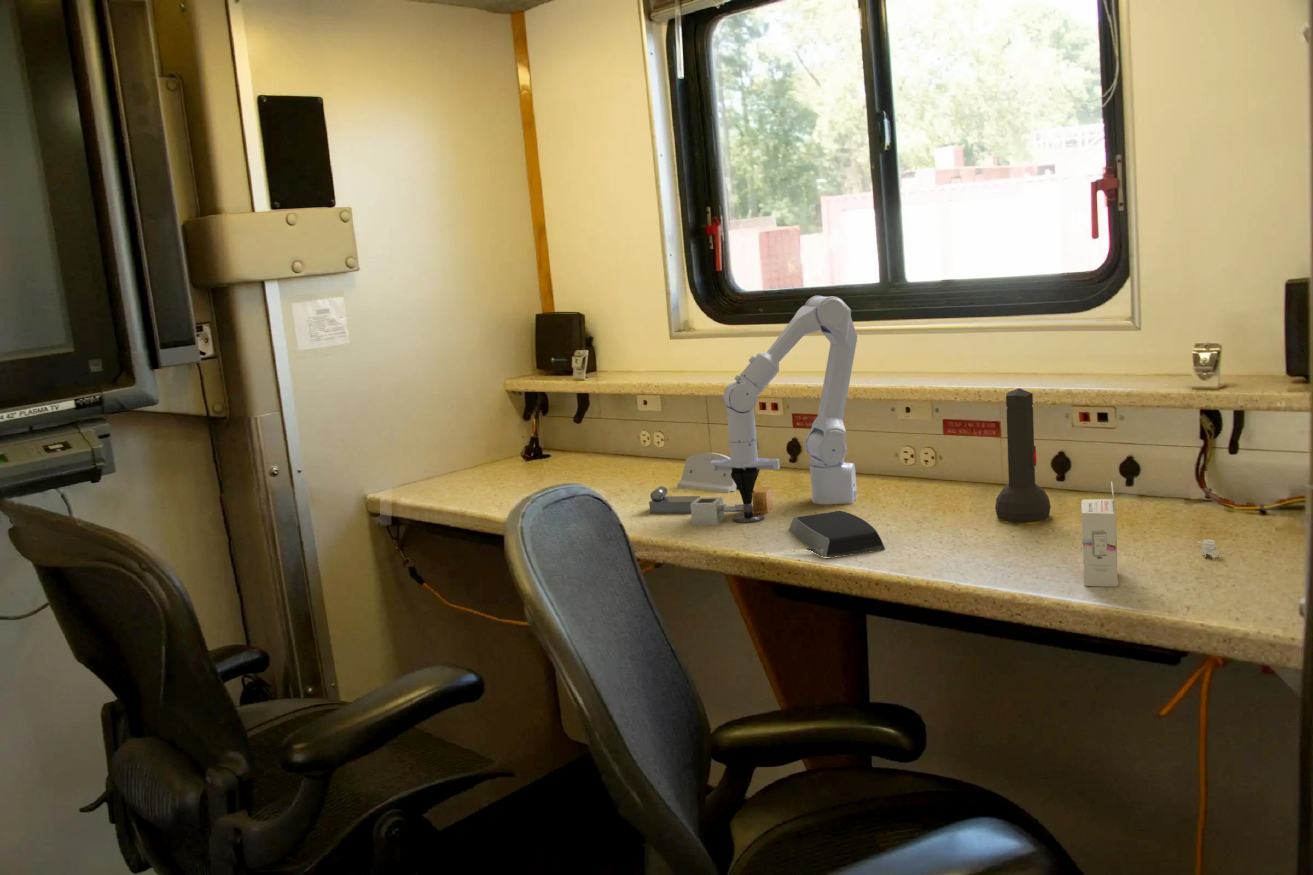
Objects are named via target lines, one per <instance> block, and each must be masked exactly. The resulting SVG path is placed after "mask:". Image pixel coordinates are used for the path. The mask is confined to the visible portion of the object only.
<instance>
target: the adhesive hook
mask: <svg viewBox="0 0 1313 875" xmlns="http://www.w3.org/2000/svg"><path fill="white" fill-rule="evenodd" d="M1197 544H1200V545H1202V546H1201V549H1202V550H1200V551H1199V553H1200V554H1201V555H1202V554H1205V556H1204V557H1206V558H1207V555H1206V554H1209V555H1211V558H1214V559H1215V557H1214V555H1215V556H1218V555H1219V556H1220V551H1217V544H1216V540H1213V539H1203V541H1197Z"/></svg>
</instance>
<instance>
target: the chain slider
mask: <svg viewBox="0 0 1313 875" xmlns="http://www.w3.org/2000/svg"><path fill="white" fill-rule="evenodd" d="M772 491H773V490H772V486H757V487H756V488H754V489H753V492H752V510H753V513H760V514H768V513H769V512H770V511H771V509H772V508H773V506H774V505H773V492H772ZM723 504H724V512H729V511H730V512H735V511H744V509H743V503H736V504H734V505H727V503H726V504H725V503H723Z"/></svg>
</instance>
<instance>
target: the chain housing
mask: <svg viewBox="0 0 1313 875" xmlns="http://www.w3.org/2000/svg"><path fill="white" fill-rule="evenodd" d="M667 495H668V489H667V487H665V486H663V485H660V486H659V487H656V489H654V490H653V491H652V492H651V493H650V495H649V496H650V501H649V502H648V504H649V513H650V515H651V514H659V515H660V514H661V515H664V514H665V515H666V514H671V515H673V514H675V515H676V514H677V515H678V514H679V515H680V514H683V515H685V514H689V515H690V514H691V505H690V504H691V503H692V502H693V501H695V500H696V499H697V498H701V496H700V495H694V496H693V495H687V496H686V495H685V496H684V495H683V496H681V495H680V496H679V495H677V496H675V495H674V496H667Z"/></svg>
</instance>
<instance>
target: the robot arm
mask: <svg viewBox="0 0 1313 875" xmlns="http://www.w3.org/2000/svg"><path fill="white" fill-rule="evenodd" d="M851 315H852V309H851V308H850V307H849V306H848V305H847V304H846V303H845V301H843V299H842V298H840V297H838V296H823V295H814V296H812V297H810V298H809V299H808V300H807V301H806V302H805V304H804V305H802V306H801V307H800V308H799V309H798V310H797V311H796V313H795V314H794V316H793V317H792V319H791V320H790V321H789V322H788V324H787V325H786V327H785V328H784V329H783V331H781V333H780V334H779V335H778V337H777V338H776V339H775V340H774V342H773V343H772V344H771V346H770V347H769V348H768V350H767V351H766V352H759V353H757V354H756V355H755V356H753V355H751V357H750V358H749V359H748V362H749V363H748V365H747V366H746V367H745V369H743V370H742V371H741V373H740V374H739V375H735V377H734V380H735V381H734V382H731V383H729V384H728V385H727V386H725V388H724V390H723V394H722V396H721V400H722V402H723V404H724V405H725V406H726V414H727V421H726V422H727V432H728V442H729V443H728V445H729V457H730V459H726V460H712V461H711V462H710V470H711V471H716V470H732V473H731V477H732V479H733V480H734V482H735V484H736V485H737V487H738V489H739V490H738V492H739V494H740V497H741V500H742V504H745V503H752V504H753V500H752V492H753V491H754V490H755V485H756V482H757V479H758V476H759V473H760V472H761V471H760V470H773V471H778V470H780V468H781V466H780V465H781V462H780V459H779V458H764V457H763V458H762V457H758V456H759V455H758V453H759V452H758V442H757V428H756V417H755V409H754V408H755V407H756V406H757V403H758V400H759V398H758V396H759V395H760V394H762V392H763V391H764V389H765V388H767V386H768V385H769V384H770V383H771V381H773V379H774V378H775V377H776V376H777V374H779V372H780V362H781V360H783V358H784V357H785V356H787V354H788V353H789V352H790V351H791V350H792V349H793V348H794V347H795V346H796V344H798V343H799V341H800V340H801V339H802V338H804V336H806V335H807V334H812V333H815V332H818V331H821V333H822V334H823V336H824V337H825V338H826V339H827V340H828V342H829V343H830V345H829V350H828V356H827V362H826V367H825V373H824V374H825V375H824V379H823V384H822V389H821V390H822V391H821V395H820V401H819V407H818V414H817V416H816V418H814V421H813V422H812V424H811V430H809V433H808V434H807V436H806V437H805V441H804V448H805V451H806V453H807V454H808V455H809V456H810V459H809V474H810V476H809V477H810V489H811V490H810V491H811V501H812V503H813V504H816V505H817V504H818V505H835V504H836V505H839V504H840V505H841V504H842V505H843V504H854V503H855V500H856V499H857V497H858V491H857V476H856V475H857V474H856V473H857V472H856V468H855V467H856V466H855V463H854V462H845V458H846V456H847V453H848V445H847V442H846V435H847V430H846V427H845V424H844V421H843V420H844V414H845V410H846V404H847V403H846V402H847V397H848V393H849V386H850V382H851V381H850V380H851V376H852V369H853V365H854V359H855V355H856V354H855V353H856V347H857V342H858V335H857V332H856V328H855V325H854V322H853V319H852V316H851Z"/></svg>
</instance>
